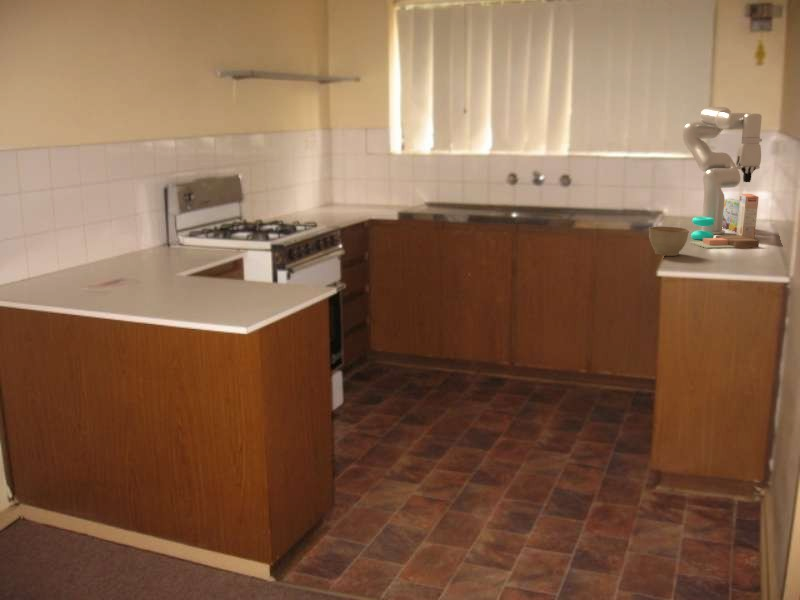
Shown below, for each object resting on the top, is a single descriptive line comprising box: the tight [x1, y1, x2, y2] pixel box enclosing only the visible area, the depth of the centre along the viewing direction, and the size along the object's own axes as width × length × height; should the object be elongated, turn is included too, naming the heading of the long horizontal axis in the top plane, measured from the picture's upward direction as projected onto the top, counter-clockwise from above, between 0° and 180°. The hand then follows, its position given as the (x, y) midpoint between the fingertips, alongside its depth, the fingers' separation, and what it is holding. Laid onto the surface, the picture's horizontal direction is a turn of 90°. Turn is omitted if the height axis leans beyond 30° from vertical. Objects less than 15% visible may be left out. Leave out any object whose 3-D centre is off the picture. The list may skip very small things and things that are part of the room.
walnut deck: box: [715, 234, 760, 249], centre depth 378 cm, size 17×11×3 cm, turn 9°
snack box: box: [722, 198, 740, 233], centre depth 421 cm, size 21×6×15 cm, turn 5°
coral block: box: [702, 237, 729, 245], centre depth 377 cm, size 6×9×2 cm, turn 99°
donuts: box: [690, 216, 715, 241], centre depth 395 cm, size 10×10×10 cm
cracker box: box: [735, 193, 760, 240], centre depth 392 cm, size 14×6×21 cm, turn 168°
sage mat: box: [689, 240, 736, 250], centre depth 377 cm, size 16×13×1 cm
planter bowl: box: [648, 226, 690, 257], centre depth 353 cm, size 16×16×11 cm
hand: (746, 181), depth 385 cm, fingers closed
